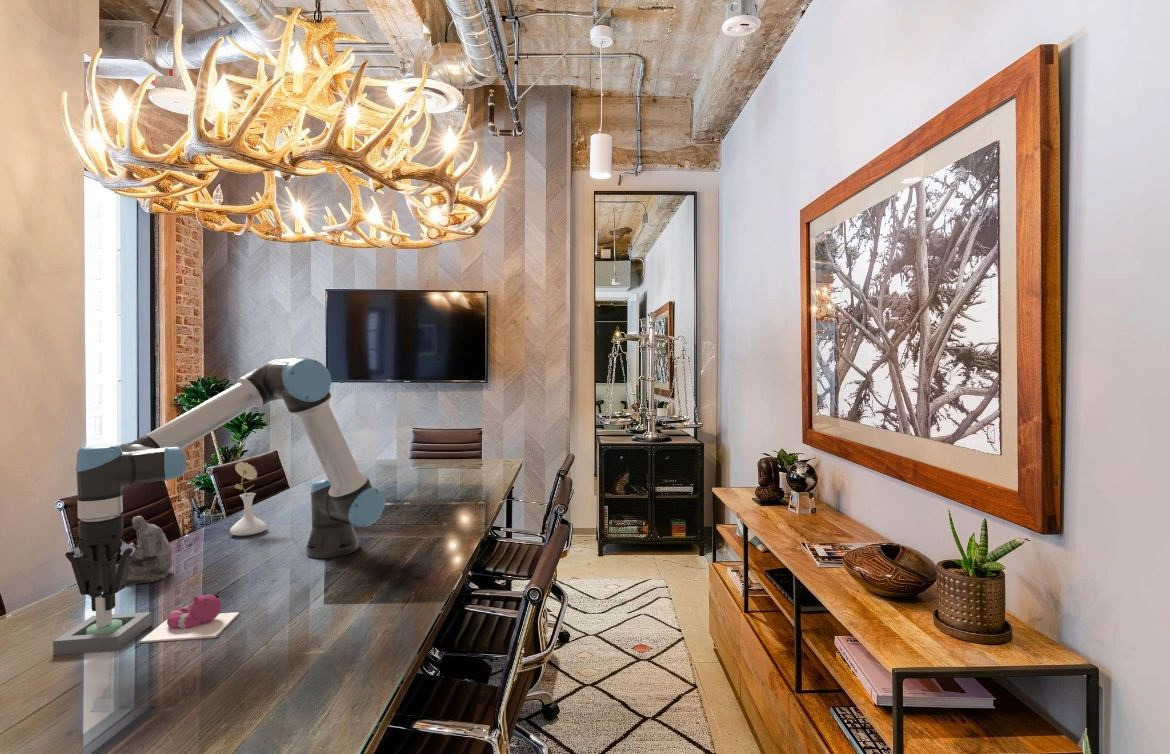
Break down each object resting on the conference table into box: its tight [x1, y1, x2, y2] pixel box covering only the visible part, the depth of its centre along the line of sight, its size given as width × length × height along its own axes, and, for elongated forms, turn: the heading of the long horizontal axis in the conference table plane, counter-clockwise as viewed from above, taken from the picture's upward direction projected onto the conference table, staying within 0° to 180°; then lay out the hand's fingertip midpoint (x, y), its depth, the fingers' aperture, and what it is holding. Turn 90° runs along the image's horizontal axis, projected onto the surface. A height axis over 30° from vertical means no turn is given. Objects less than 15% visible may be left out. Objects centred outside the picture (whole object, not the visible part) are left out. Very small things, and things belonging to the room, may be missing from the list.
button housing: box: [52, 611, 152, 656], centre depth 128 cm, size 12×12×3 cm
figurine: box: [116, 515, 173, 586], centre depth 164 cm, size 13×12×18 cm
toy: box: [166, 593, 222, 629], centre depth 135 cm, size 11×9×10 cm
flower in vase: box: [229, 461, 268, 537], centre depth 205 cm, size 13×11×25 cm
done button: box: [87, 619, 122, 635], centre depth 128 cm, size 6×6×3 cm
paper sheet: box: [139, 611, 240, 644], centre depth 133 cm, size 15×12×1 cm
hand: (104, 624), depth 127 cm, fingers closed
